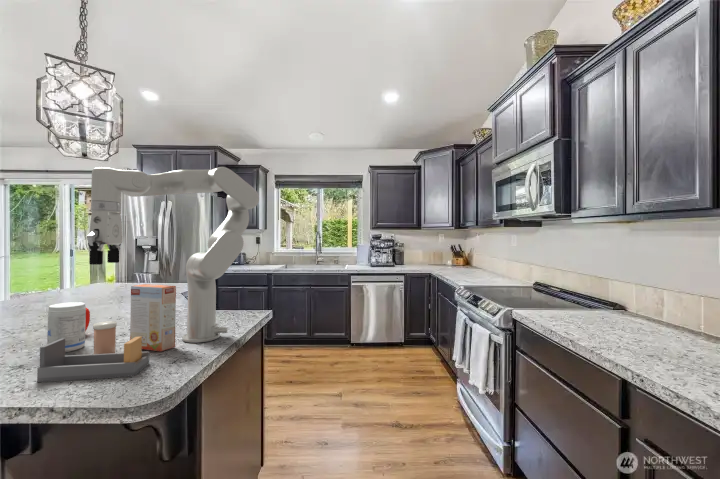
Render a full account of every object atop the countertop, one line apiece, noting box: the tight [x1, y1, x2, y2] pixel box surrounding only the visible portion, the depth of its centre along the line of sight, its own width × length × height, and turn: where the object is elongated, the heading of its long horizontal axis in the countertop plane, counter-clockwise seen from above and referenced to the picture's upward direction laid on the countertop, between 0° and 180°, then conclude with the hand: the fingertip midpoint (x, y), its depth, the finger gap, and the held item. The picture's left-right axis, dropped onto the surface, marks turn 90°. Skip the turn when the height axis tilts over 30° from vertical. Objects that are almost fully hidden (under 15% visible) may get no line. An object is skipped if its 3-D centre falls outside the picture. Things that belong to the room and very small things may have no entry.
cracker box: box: [129, 283, 177, 353], centre depth 115 cm, size 14×6×21 cm, turn 71°
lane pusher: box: [123, 336, 143, 363], centre depth 94 cm, size 2×7×7 cm, turn 11°
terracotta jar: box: [92, 320, 118, 354], centre depth 106 cm, size 6×6×10 cm
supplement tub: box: [46, 301, 87, 353], centre depth 112 cm, size 10×10×15 cm
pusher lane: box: [36, 338, 150, 383], centre depth 93 cm, size 22×10×8 cm, turn 101°
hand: (105, 263), depth 106 cm, fingers open, 9 cm apart
